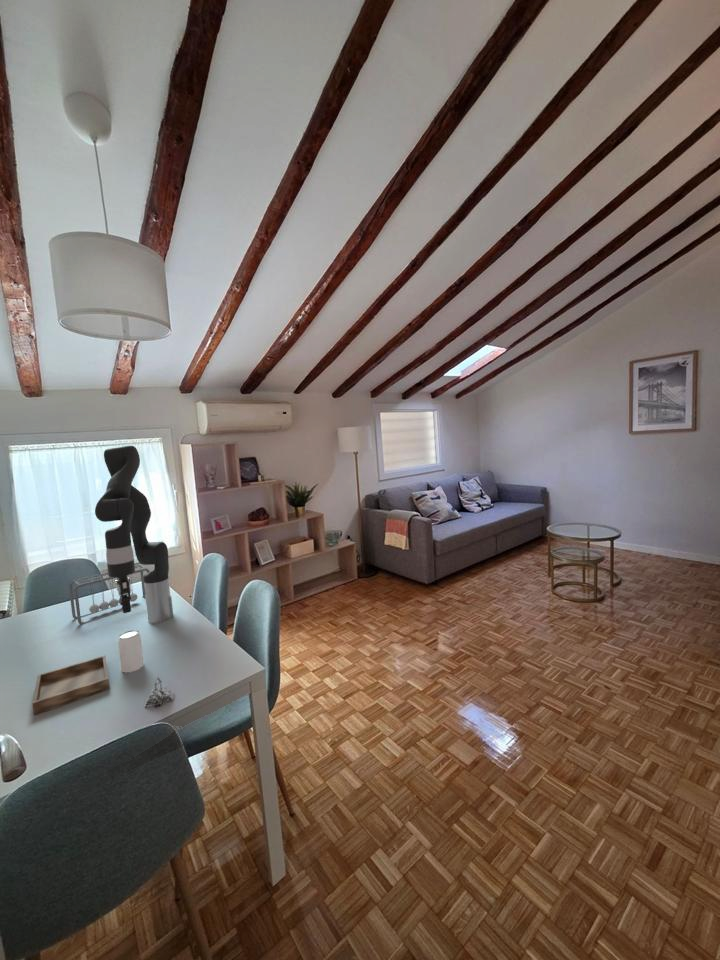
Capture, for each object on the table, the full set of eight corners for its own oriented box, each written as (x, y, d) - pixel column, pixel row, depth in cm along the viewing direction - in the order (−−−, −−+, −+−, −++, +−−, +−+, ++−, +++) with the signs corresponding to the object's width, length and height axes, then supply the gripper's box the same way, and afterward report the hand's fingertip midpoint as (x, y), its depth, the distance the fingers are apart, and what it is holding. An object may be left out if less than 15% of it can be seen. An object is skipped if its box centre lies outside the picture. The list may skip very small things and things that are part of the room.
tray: (106, 665, 136) (105, 655, 136) (109, 689, 121) (108, 678, 121) (39, 685, 126) (37, 675, 126) (33, 715, 111) (32, 703, 111)
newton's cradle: (145, 599, 198) (141, 563, 197) (153, 603, 191) (149, 567, 189) (72, 620, 176) (67, 581, 175) (78, 627, 169) (73, 586, 168)
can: (133, 674, 129) (130, 639, 128) (116, 673, 130) (112, 638, 129) (148, 663, 135) (144, 629, 134) (131, 662, 137) (128, 629, 136)
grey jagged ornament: (133, 723, 106) (130, 695, 105) (141, 703, 114) (138, 677, 114) (170, 715, 108) (167, 688, 108) (175, 696, 117) (173, 671, 116)
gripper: (136, 562, 126) (141, 611, 127) (131, 553, 138) (136, 599, 139) (108, 567, 122) (114, 618, 123) (105, 558, 133) (110, 605, 135)
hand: (125, 608), depth 131 cm, fingers open, 8 cm apart
